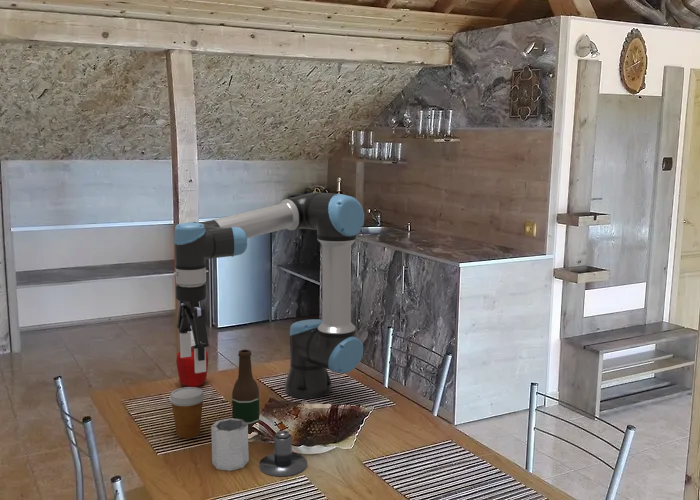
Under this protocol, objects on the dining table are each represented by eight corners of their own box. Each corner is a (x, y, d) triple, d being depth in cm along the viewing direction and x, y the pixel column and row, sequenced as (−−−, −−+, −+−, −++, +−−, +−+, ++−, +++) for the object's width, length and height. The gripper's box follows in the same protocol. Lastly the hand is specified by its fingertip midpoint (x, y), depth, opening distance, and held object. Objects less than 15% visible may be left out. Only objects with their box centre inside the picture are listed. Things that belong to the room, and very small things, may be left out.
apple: (184, 378, 239) (182, 340, 237) (213, 380, 238) (212, 341, 235) (172, 390, 229) (170, 349, 226) (202, 391, 227) (201, 351, 225)
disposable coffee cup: (197, 442, 191) (196, 400, 189) (164, 439, 192) (163, 397, 190) (211, 428, 200) (210, 387, 198) (179, 425, 202) (178, 385, 200)
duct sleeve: (239, 452, 185) (239, 416, 183) (252, 465, 178) (251, 427, 176) (209, 459, 181) (207, 422, 179) (220, 473, 174) (219, 435, 172)
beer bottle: (265, 430, 199) (263, 348, 195) (252, 441, 191) (251, 356, 187) (240, 426, 201) (238, 345, 197) (227, 437, 194) (225, 353, 190)
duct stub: (294, 450, 186) (294, 419, 185) (315, 469, 176) (315, 436, 174) (251, 461, 180) (251, 429, 179) (271, 481, 170) (270, 447, 169)
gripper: (164, 276, 188) (166, 352, 192) (189, 295, 167) (192, 381, 170) (191, 273, 192) (193, 349, 195) (220, 292, 170) (222, 376, 174)
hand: (193, 364), depth 183 cm, fingers open, 13 cm apart
